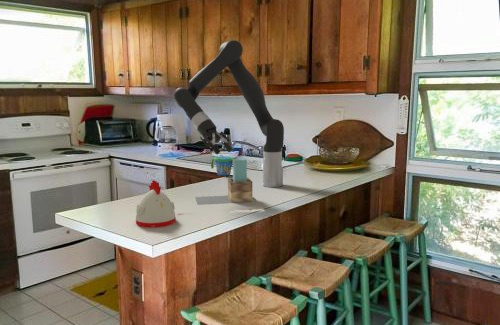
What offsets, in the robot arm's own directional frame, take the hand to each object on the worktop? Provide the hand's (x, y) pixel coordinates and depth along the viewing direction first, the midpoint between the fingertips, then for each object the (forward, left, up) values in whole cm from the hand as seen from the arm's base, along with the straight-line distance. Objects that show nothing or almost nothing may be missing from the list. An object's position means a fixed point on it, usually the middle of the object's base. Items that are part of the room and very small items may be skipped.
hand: (224, 152), depth 186 cm
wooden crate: (-5, +5, -21) cm, 22 cm away
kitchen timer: (+29, +29, -21) cm, 46 cm away
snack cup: (-7, -60, -21) cm, 64 cm away
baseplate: (+1, +4, -21) cm, 21 cm away
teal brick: (-5, +5, -13) cm, 15 cm away
